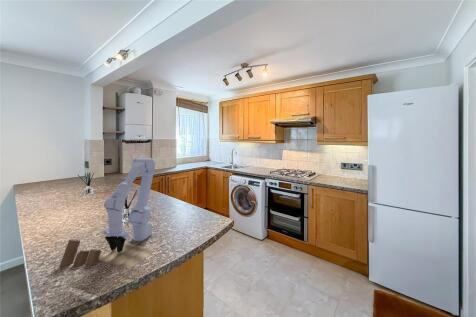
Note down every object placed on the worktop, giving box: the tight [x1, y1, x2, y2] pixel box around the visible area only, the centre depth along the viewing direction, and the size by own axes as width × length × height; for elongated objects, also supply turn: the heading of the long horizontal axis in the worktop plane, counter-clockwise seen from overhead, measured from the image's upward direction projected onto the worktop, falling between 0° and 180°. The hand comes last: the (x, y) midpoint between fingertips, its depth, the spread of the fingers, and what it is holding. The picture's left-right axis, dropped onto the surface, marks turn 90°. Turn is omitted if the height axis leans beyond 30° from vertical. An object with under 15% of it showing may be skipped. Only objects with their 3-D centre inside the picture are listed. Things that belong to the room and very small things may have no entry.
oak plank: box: [98, 242, 138, 264], centre depth 100 cm, size 16×7×1 cm, turn 159°
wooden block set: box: [59, 238, 102, 268], centre depth 93 cm, size 18×9×10 cm, turn 74°
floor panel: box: [107, 245, 158, 270], centre depth 96 cm, size 16×12×1 cm
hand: (116, 250), depth 100 cm, fingers open, 4 cm apart
